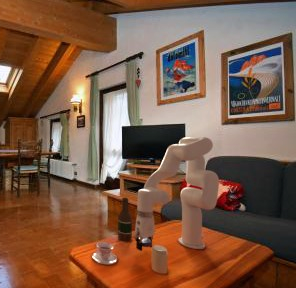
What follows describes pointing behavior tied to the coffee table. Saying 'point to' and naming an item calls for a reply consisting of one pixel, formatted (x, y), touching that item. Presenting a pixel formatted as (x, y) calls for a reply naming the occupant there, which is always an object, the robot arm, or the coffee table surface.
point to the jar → (159, 259)
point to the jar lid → (146, 242)
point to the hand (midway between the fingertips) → (144, 247)
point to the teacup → (104, 253)
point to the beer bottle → (125, 222)
